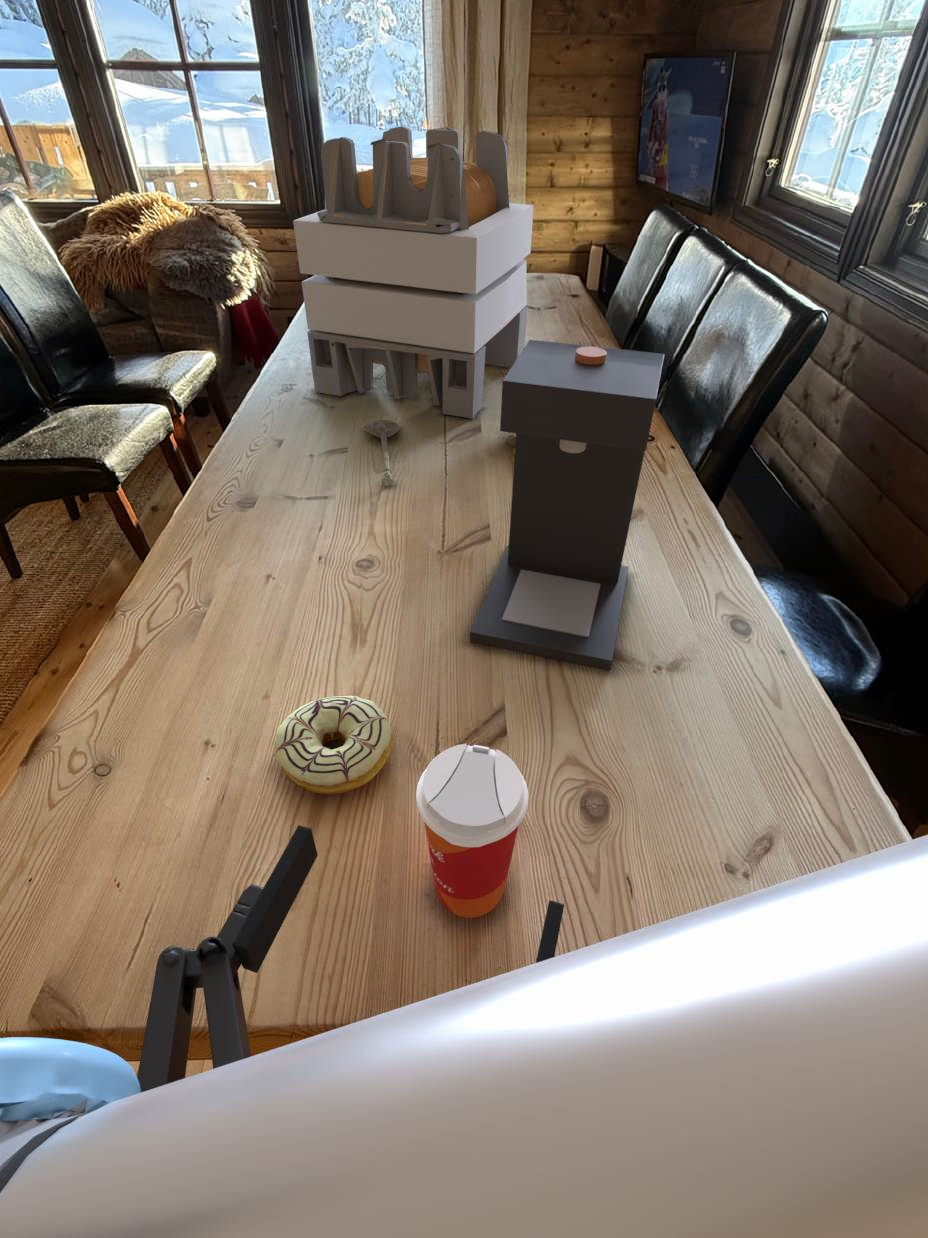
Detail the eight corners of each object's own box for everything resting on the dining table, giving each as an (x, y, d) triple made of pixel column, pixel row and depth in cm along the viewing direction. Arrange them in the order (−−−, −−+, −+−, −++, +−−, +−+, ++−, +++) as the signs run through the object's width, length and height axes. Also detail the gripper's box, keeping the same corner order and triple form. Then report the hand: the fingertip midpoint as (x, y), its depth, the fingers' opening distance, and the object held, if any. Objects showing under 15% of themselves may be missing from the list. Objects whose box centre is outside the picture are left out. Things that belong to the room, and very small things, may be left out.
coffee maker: (610, 670, 72) (665, 419, 53) (469, 641, 75) (474, 395, 56) (626, 575, 85) (676, 346, 66) (506, 554, 88) (520, 330, 69)
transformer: (526, 361, 143) (542, 128, 116) (474, 420, 120) (480, 147, 93) (385, 340, 152) (370, 120, 125) (311, 392, 129) (274, 135, 102)
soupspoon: (401, 428, 119) (364, 431, 118) (399, 410, 116) (361, 413, 116) (408, 485, 102) (366, 489, 101) (406, 464, 99) (362, 469, 99)
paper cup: (434, 833, 57) (430, 729, 48) (523, 850, 56) (536, 747, 46) (410, 922, 51) (401, 823, 42) (508, 944, 50) (521, 846, 41)
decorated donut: (318, 700, 68) (313, 674, 66) (411, 732, 65) (409, 707, 63) (257, 777, 61) (248, 752, 58) (358, 818, 58) (354, 792, 55)
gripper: (-87, 1354, 24) (231, 847, 40) (591, 1735, 19) (652, 980, 34) (-223, 1348, 19) (201, 772, 35) (643, 1860, 14) (687, 914, 29)
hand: (426, 875), depth 34 cm, fingers open, 13 cm apart
